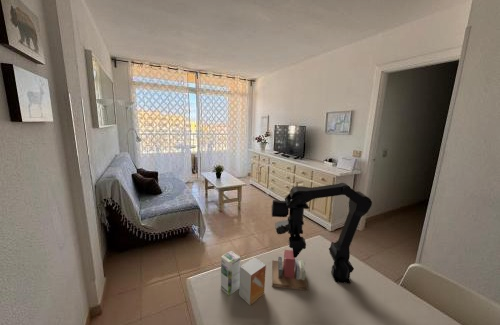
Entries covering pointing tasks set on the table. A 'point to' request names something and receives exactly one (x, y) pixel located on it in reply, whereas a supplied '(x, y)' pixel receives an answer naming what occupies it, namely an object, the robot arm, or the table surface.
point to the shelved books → (299, 269)
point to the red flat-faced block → (289, 264)
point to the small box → (252, 280)
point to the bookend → (280, 267)
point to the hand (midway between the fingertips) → (293, 250)
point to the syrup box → (230, 272)
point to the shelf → (286, 279)
